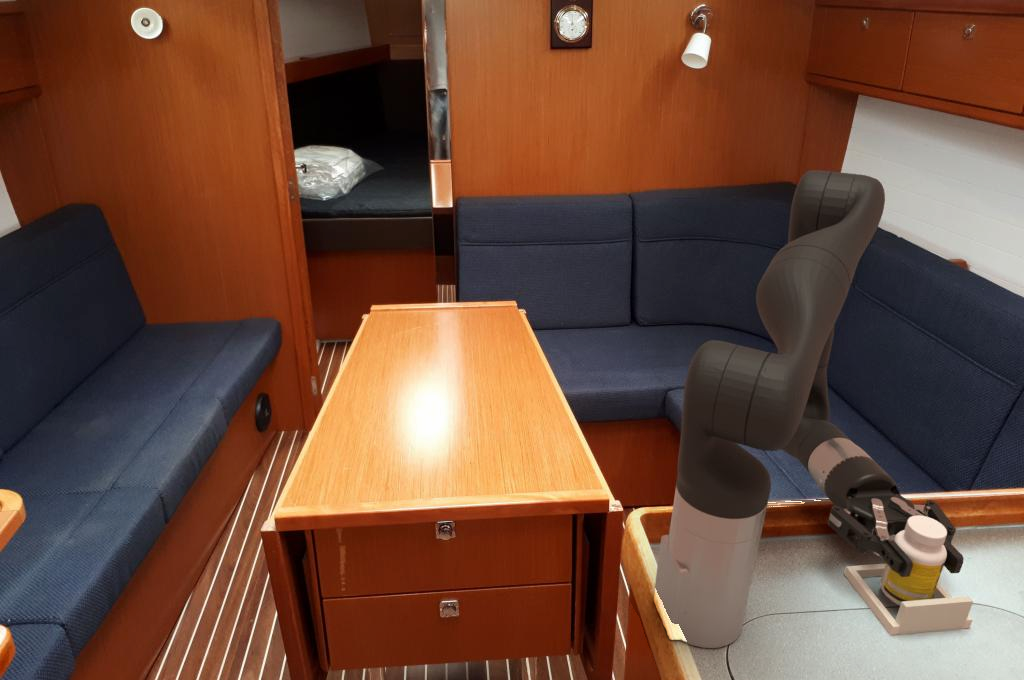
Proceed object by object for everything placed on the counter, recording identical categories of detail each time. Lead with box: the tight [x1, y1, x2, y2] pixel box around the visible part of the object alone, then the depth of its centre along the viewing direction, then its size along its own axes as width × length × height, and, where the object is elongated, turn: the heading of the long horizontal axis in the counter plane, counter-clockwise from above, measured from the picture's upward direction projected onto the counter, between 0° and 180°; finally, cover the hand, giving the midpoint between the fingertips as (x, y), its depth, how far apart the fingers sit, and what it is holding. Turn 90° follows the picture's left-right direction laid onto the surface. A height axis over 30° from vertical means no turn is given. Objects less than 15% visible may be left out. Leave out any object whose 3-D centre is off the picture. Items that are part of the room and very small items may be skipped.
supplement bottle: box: [879, 515, 947, 606], centre depth 84 cm, size 5×5×10 cm
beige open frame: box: [843, 562, 974, 636], centre depth 86 cm, size 10×10×4 cm
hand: (933, 568), depth 81 cm, fingers closed on supplement bottle, 5 cm apart
